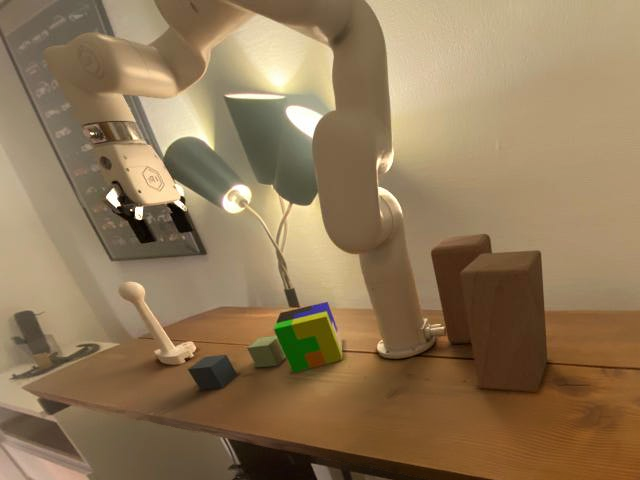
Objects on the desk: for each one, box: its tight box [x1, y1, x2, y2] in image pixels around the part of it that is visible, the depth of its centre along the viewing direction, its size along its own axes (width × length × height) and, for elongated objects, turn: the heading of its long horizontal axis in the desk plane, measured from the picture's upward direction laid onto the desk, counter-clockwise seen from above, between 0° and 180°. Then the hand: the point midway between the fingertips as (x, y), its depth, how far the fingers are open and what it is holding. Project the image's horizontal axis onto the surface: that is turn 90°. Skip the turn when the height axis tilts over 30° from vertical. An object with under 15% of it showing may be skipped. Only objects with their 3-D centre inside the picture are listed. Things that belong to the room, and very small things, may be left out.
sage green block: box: [246, 335, 287, 368], centre depth 83 cm, size 5×5×5 cm
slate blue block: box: [187, 354, 238, 391], centre depth 77 cm, size 5×5×5 cm
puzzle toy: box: [273, 301, 343, 374], centre depth 80 cm, size 10×10×10 cm
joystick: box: [118, 281, 197, 366], centre depth 90 cm, size 11×8×20 cm
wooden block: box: [460, 249, 549, 393], centre depth 60 cm, size 10×10×20 cm
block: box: [430, 233, 493, 345], centre depth 76 cm, size 10×10×20 cm
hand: (169, 236), depth 74 cm, fingers open, 9 cm apart
